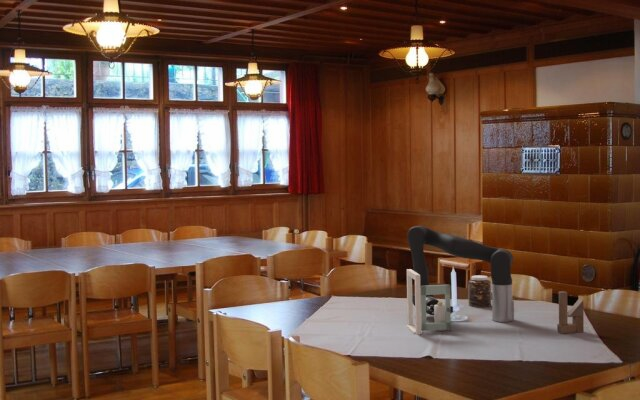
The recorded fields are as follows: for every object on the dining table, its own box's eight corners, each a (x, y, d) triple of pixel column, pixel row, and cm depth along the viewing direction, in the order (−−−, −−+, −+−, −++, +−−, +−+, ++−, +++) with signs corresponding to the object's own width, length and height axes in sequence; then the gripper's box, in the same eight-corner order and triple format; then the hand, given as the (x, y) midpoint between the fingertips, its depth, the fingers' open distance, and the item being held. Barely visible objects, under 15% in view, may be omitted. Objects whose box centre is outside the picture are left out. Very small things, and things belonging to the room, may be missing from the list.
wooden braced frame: (583, 332, 340) (583, 291, 339) (561, 334, 338) (560, 292, 337) (579, 330, 344) (579, 289, 343) (557, 332, 342) (556, 291, 341)
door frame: (414, 325, 362) (412, 268, 360) (423, 334, 344) (422, 274, 342) (405, 326, 361) (404, 269, 360) (414, 334, 344) (413, 275, 342)
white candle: (444, 328, 355) (444, 300, 354) (447, 330, 350) (447, 302, 349) (433, 328, 355) (432, 300, 354) (436, 331, 349) (435, 302, 349)
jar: (494, 304, 407) (494, 275, 406) (486, 308, 397) (486, 278, 396) (473, 302, 413) (472, 274, 413) (464, 306, 404) (464, 277, 403)
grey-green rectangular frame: (422, 331, 344) (422, 286, 343) (421, 330, 347) (420, 285, 346) (451, 329, 346) (450, 285, 345) (449, 328, 349) (449, 284, 347)
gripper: (416, 298, 366) (425, 305, 350) (446, 297, 367) (456, 303, 351) (416, 314, 366) (425, 321, 350) (446, 312, 368) (456, 320, 352)
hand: (440, 312), depth 351 cm, fingers open, 8 cm apart
